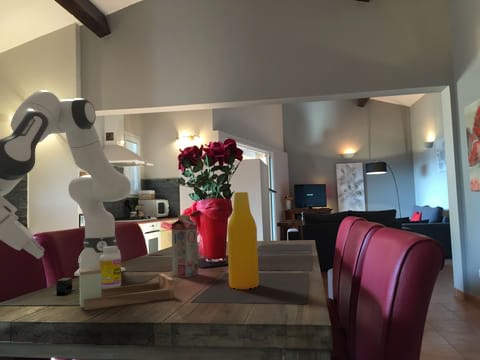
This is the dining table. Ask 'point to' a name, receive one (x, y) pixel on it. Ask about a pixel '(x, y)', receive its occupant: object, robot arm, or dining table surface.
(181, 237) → the juice carton
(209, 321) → the dining table surface
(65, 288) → the black box
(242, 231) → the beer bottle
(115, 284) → the supplement bottle
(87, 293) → the cream tall block
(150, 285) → the bay
